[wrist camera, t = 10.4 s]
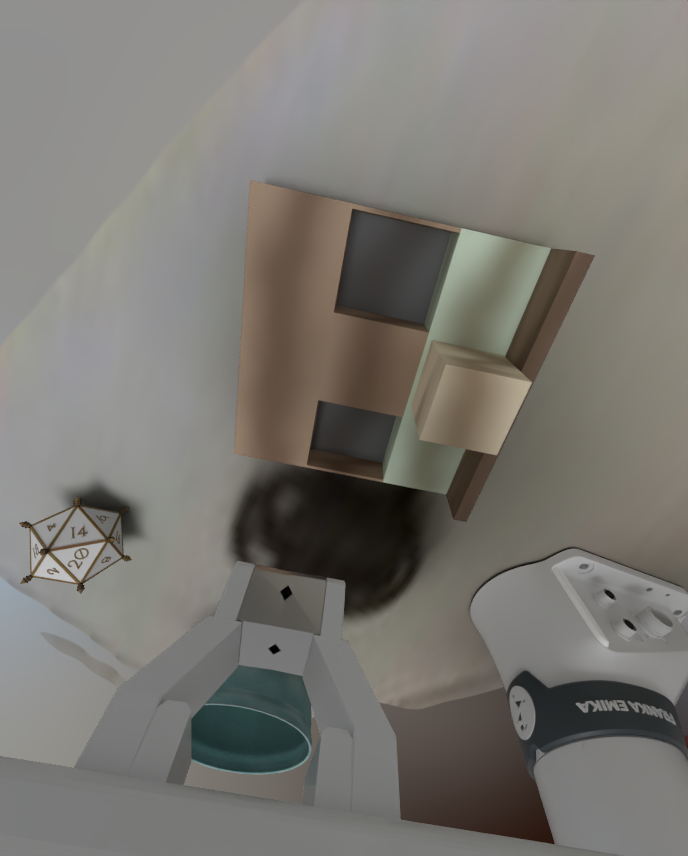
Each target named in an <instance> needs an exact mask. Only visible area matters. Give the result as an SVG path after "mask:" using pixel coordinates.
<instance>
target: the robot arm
mask: <svg viewBox="0 0 688 856" xmlns="http://www.w3.org/2000/svg"><path fill="white" fill-rule="evenodd" d="M344 600H345V582H344V581H342V580H336V579H331V578H326V577H322V576H317V575H311V574H305V573H299V572H293V571H291V572H289V571H284V570H280V569H275V568H270V567H266V566H261V565H256V564H251V563H246V562H241V561H237V563H236V564H235V566H234V568H233V570H232V573H231V575H230V578H229V580H228V583H227V585H226V588H225V590H224V593H223V595H222V598H221V600H220V603H219V605H218V607H217V610H216V612H215V615H214V617H213V616H207V617H206V618H205V619H203V620H202V621H201V622H200V623H198V624H197V625H196V626H195V627H193V628H192V629H191V630H190V631H189V632H187V633H186V634H185V635H184V636H182V637H181V638H180V639H179V640H177V641H176V642H175V643H174V644H172V645H171V646H170V647H169V648H167V649H166V650H165V651H164V652H162V653H161V654H160V655H159V656H157V657H156V658H155V659H154V660H152V661H151V662H150V663H149V664H148V665H146V666H145V667H144V668H143V669H141V670H140V671H139V672H138V673H137V674H135V675H134V676H133V677H131V678H130V679H129V680H128V681H126V682H125V683H124V684H123V685H121V686H120V687H119V688H118V689H117V691H116V693H115V694H114V696H113V698H112V700H111V702H110V703H109V705H108V707H107V709H106V711H105V712H104V714H103V716H102V718H101V720H100V721H99V723H98V725H97V727H96V729H95V730H94V732H93V734H92V736H91V738H90V740H89V741H88V743H87V745H86V747H85V748H84V750H83V752H82V754H81V756H80V757H79V759H78V761H77V763H76V765H75V766H74V768H72V767H66V766H59V765H53V764H47V763H40V762H34V761H28V760H22V759H16V758H9V757H3V756H0V856H688V735H687V736H686V737H684V734H683V731H682V727H681V725H680V721H679V718H678V715H677V712H676V709H675V705H676V703H677V701H678V699H679V697H680V695H681V693H682V691H683V689H684V688H685V686H686V684H687V682H688V634H687V632H686V631H685V630H684V628H683V627H682V626H681V623H682V622H683V620H684V619H685V617H686V616H687V614H688V593H687V591H686V590H685V589H683V588H681V587H679V586H676V585H674V584H671V583H668V582H666V581H663V580H660V579H658V578H655V577H652V576H650V575H647V574H644V573H642V572H639V571H636V570H633V569H631V568H628V567H625V566H623V565H620V564H617V563H615V562H612V561H609V560H607V559H604V558H601V557H599V556H596V555H593V554H590V553H588V552H585V551H582V550H580V549H568V550H565V551H562V552H560V553H558V554H556V555H554V556H552V557H550V558H548V559H547V560H545V561H542V562H538V563H534V564H530V565H525V566H521V567H518V568H515V569H512V570H509V571H507V572H504V573H502V574H500V575H498V576H497V577H495V578H493V579H492V580H490V581H489V582H488V583H486V584H485V585H484V586H483V587H482V588H481V589H480V590H479V591H478V592H477V594H476V595H475V597H474V599H473V601H472V604H471V608H470V615H471V619H472V622H473V624H474V625H475V627H476V628H477V630H478V632H479V633H480V635H481V637H482V638H483V640H484V642H485V644H486V646H487V648H488V650H489V652H490V654H491V656H492V658H493V661H494V663H495V665H496V667H497V670H498V672H499V674H500V677H501V679H502V682H503V684H504V687H505V690H506V692H507V699H508V704H509V709H510V714H511V717H512V722H513V725H514V729H515V732H516V735H517V739H518V742H519V745H520V748H521V751H522V754H523V758H524V761H525V763H526V767H527V770H528V772H529V774H530V776H531V777H532V778H533V779H534V780H535V781H536V782H537V785H538V789H539V792H540V795H541V799H542V802H543V805H544V809H545V812H546V815H547V818H548V821H549V825H550V828H551V832H552V835H553V838H554V841H555V845H554V844H548V843H542V842H536V841H529V840H523V839H517V838H511V837H504V836H498V835H492V834H485V833H479V832H473V831H467V830H460V829H453V828H447V827H442V826H435V825H429V824H422V823H417V822H410V821H404V820H400V801H399V783H398V765H397V746H396V736H395V734H394V732H393V730H392V728H391V726H390V724H389V722H388V720H387V718H386V716H385V714H384V712H383V710H382V708H381V706H380V704H379V702H378V700H377V698H376V696H375V694H374V692H373V690H372V688H371V686H370V684H369V682H368V680H367V678H366V676H365V674H364V672H363V670H362V669H361V667H360V665H359V663H358V661H357V659H356V657H355V655H354V653H353V651H352V649H351V647H350V645H349V643H348V641H346V640H342V631H343V615H344ZM238 665H243V666H250V667H257V668H264V669H271V670H276V671H280V672H285V673H290V674H295V675H300V676H303V681H304V684H305V687H306V690H307V693H308V697H309V700H310V703H311V706H312V709H313V712H314V715H315V718H316V721H317V725H318V728H319V731H320V734H321V736H320V739H319V742H318V744H317V747H316V750H315V753H314V755H313V758H312V761H311V763H310V766H309V769H308V771H307V774H306V777H305V780H304V788H303V796H302V804H297V803H291V802H285V801H279V800H273V799H266V798H260V797H254V796H247V795H241V794H235V793H229V792H222V791H216V790H209V789H204V788H197V787H191V786H185V785H184V783H185V780H186V777H187V773H188V770H189V767H190V764H191V719H192V718H193V716H194V715H195V714H196V713H197V712H198V711H199V710H200V709H201V707H202V706H203V705H204V704H205V703H206V702H207V701H208V700H209V699H210V697H211V696H212V695H213V694H214V693H215V692H216V691H217V690H218V688H219V687H220V686H221V685H222V684H223V683H224V682H225V681H226V680H227V678H228V677H229V676H230V675H231V674H232V673H233V672H234V671H235V669H236V668H237V667H238Z"/></svg>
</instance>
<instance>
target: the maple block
mask: <svg viewBox="0 0 688 856" xmlns="http://www.w3.org/2000/svg"><path fill="white" fill-rule="evenodd" d="M531 384H532V382H531V381H530V380H529V379H528V378H527V377H526V376H525V375H524V374H523V373H522V372H521V371H519V370H518V369H517V368H516V367H515V366H514V365H513V364H512V363H511V362H510V361H509V360H508V359H507V358H506V357H505V356H503V355H500V354H495V353H491V352H486V351H481V350H477V349H472V348H467V347H463V346H458V345H453V344H449V343H444V342H440V341H435V340H432V341H431V344H430V348H429V351H428V354H427V357H426V360H425V363H424V366H423V369H422V373H421V376H420V379H419V382H418V385H417V388H416V391H415V395H414V398H413V401H412V404H411V407H412V411H413V416H414V420H415V424H416V428H417V432H418V436H419V440H423V441H428V442H433V443H438V444H443V445H448V446H453V447H458V448H463V449H468V450H473V451H478V452H483V453H488V454H493V455H497V454H498V452H499V450H500V448H501V446H502V444H503V442H504V440H505V437H506V435H507V433H508V431H509V429H510V427H511V425H512V423H513V421H514V419H515V417H516V415H517V413H518V411H519V409H520V406H521V404H522V402H523V400H524V398H525V396H526V394H527V392H528V390H529V388H530V386H531Z"/></svg>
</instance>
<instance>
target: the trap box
mask: <svg viewBox="0 0 688 856" xmlns="http://www.w3.org/2000/svg"><path fill="white" fill-rule="evenodd" d="M594 256H595V255H590V254H586V253H581V252H577V251H569V250H560V249H551V248H546V247H542V246H538V245H533V244H529V243H525V242H520V241H516V240H511V239H507V238H503V237H498V236H494V235H489V234H485V233H481V232H476V231H472V230H467V229H463V228H459V227H454V226H450V225H445V224H441V223H437V222H432V221H428V220H423V219H419V218H415V217H410V216H406V215H401V214H397V213H393V212H388V211H384V210H379V209H375V208H371V207H366V206H362V205H357V204H353V203H349V202H344V201H340V200H335V199H331V198H327V197H322V196H318V195H313V194H309V193H305V192H300V191H296V190H291V189H287V188H283V187H278V186H274V185H269V184H265V183H261V182H256V181H252V180H250V192H249V209H248V227H247V244H246V261H245V279H244V296H243V313H242V330H241V348H240V365H239V382H238V400H237V417H236V434H235V451H234V454H240V455H245V456H250V457H255V458H260V459H265V460H271V461H276V462H281V463H286V464H291V465H296V466H302V467H307V468H312V469H317V470H322V471H327V472H333V473H338V474H343V475H348V476H353V477H358V478H364V479H369V480H374V481H379V482H384V483H389V484H395V485H400V486H405V487H410V488H415V489H420V490H426V491H431V492H436V493H441V494H446V495H447V499H448V502H449V505H450V509H451V512H452V516H453V519H454V520H460V521H465V522H466V521H467V519H468V517H469V515H470V513H471V511H472V509H473V506H474V504H475V502H476V500H477V498H478V496H479V494H480V492H481V490H482V488H483V486H484V484H485V482H486V480H487V478H488V475H489V473H490V471H491V469H492V467H493V465H494V463H495V461H496V459H497V457H498V455H499V453H500V451H501V449H502V446H503V444H504V442H505V440H506V438H507V436H508V434H509V432H510V430H511V428H512V426H513V424H514V422H515V420H516V418H517V415H518V413H519V411H520V409H521V407H522V405H523V403H524V401H525V399H526V397H527V395H528V393H529V391H530V389H531V386H532V384H533V382H534V380H535V378H536V376H537V374H538V372H539V370H540V368H541V366H542V364H543V362H544V360H545V358H546V355H547V353H548V351H549V349H550V347H551V345H552V343H553V341H554V339H555V337H556V335H557V333H558V331H559V329H560V326H561V324H562V322H563V320H564V318H565V316H566V314H567V312H568V310H569V308H570V306H571V304H572V302H573V300H574V298H575V295H576V293H577V291H578V289H579V287H580V285H581V283H582V281H583V279H584V277H585V275H586V273H587V271H588V269H589V266H590V264H591V262H592V260H593V258H594ZM432 340H435V341H440V342H444V343H449V344H453V345H458V346H463V347H467V348H472V349H477V350H481V351H486V352H491V353H495V354H500V355H503V356H505V357H506V358H507V359H508V360H509V361H510V362H511V363H512V364H513V365H514V366H515V367H516V368H517V369H518V370H519V371H521V372H522V373H523V374H524V375H525V376H526V377H527V378H528V379H529V380H530V381H531V382H532V384H531V386H530V388H529V390H528V392H527V394H526V396H525V398H524V400H523V402H522V404H521V406H520V409H519V411H518V413H517V415H516V417H515V419H514V421H513V423H512V425H511V427H510V429H509V431H508V433H507V435H506V437H505V440H504V442H503V444H502V446H501V448H500V450H499V452H498V454H497V455H493V454H488V453H483V452H478V451H473V450H468V449H463V448H458V447H453V446H448V445H443V444H438V443H433V442H428V441H423V440H419V436H418V432H417V428H416V424H415V420H414V416H413V411H412V407H411V404H412V401H413V398H414V395H415V391H416V388H417V385H418V382H419V379H420V376H421V373H422V369H423V366H424V363H425V360H426V357H427V354H428V351H429V348H430V344H431V341H432Z"/></svg>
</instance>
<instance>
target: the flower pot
mask: <svg viewBox="0 0 688 856" xmlns="http://www.w3.org/2000/svg"><path fill="white" fill-rule="evenodd" d="M310 730H311V703H310V700H309V697H308V693H307V690H306V687H305V684H304V681H303V676H300V675H295V674H290V673H285V672H280V671H276V670H271V669H264V668H257V667H250V666H243V665H238V667H237V668H236V669H235V671H234V672H233V673H232V674H231V675H230V676H229V677H228V678H227V680H226V681H225V682H224V683H223V684H222V685H221V686H220V687H219V688H218V690H217V691H216V692H215V693H214V694H213V695H212V696H211V697H210V699H209V700H208V701H207V702H206V703H205V704H204V705H203V706H202V707H201V709H200V710H199V711H198V712H197V713H196V714H195V715H194V716H193V718H192V719H191V761H193V762H196V763H198V764H201V765H203V766H207V767H210V768H214V769H218V770H222V771H227V772H233V773H241V774H271V773H279V772H284V771H288V770H291V769H294V768H296V767H298V766H300V765H301V764H302V763H304V762H305V761H306V760H307V759H308V758H309V756H310V754H311V744H312V738H311V731H310Z"/></svg>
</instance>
